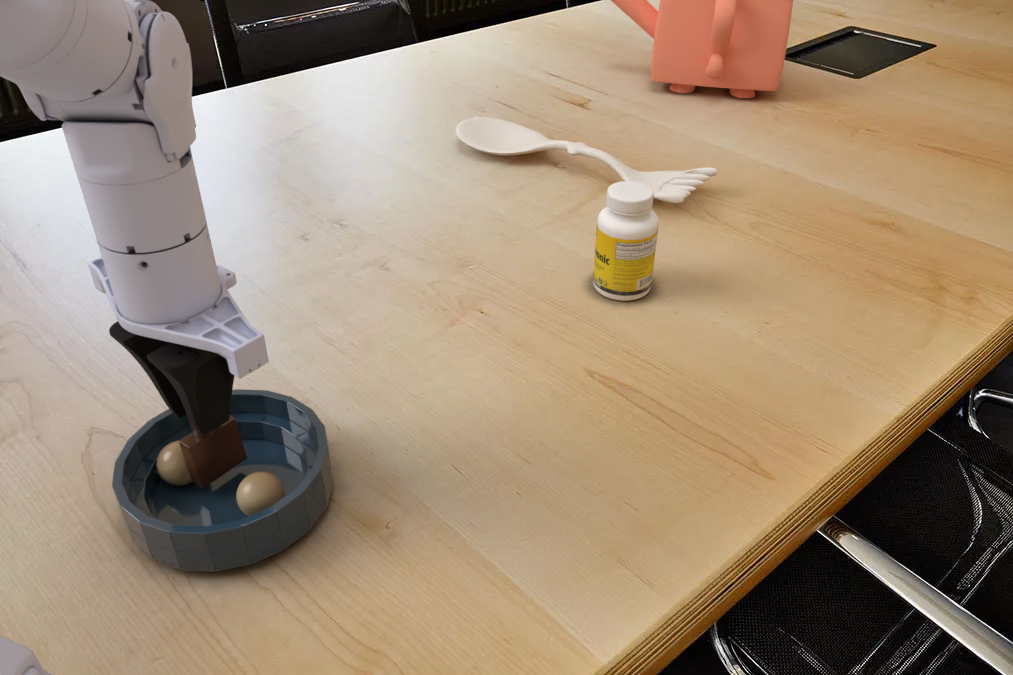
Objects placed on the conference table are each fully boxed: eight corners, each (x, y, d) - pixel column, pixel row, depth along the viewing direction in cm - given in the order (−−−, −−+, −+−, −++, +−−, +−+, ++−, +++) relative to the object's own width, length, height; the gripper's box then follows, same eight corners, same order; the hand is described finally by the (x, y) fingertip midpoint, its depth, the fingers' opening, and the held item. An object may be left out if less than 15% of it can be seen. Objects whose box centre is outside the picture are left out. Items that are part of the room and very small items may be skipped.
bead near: (257, 535, 53) (251, 496, 52) (230, 515, 55) (223, 477, 54) (297, 512, 55) (291, 474, 54) (269, 493, 57) (263, 456, 56)
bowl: (210, 615, 50) (196, 570, 47) (88, 509, 56) (70, 465, 54) (374, 487, 58) (369, 443, 56) (251, 408, 65) (242, 365, 62)
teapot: (593, 98, 119) (602, -39, 109) (612, 50, 137) (622, -72, 127) (778, 114, 115) (806, -27, 104) (773, 62, 133) (796, -63, 122)
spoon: (678, 225, 89) (682, 194, 87) (441, 150, 104) (440, 123, 102) (715, 194, 95) (720, 165, 93) (485, 127, 110) (485, 101, 108)
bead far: (187, 501, 57) (155, 481, 55) (171, 477, 59) (140, 458, 57) (220, 467, 57) (190, 447, 55) (203, 445, 59) (173, 424, 57)
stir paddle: (205, 490, 56) (168, 378, 51) (189, 480, 56) (150, 369, 52) (250, 460, 58) (218, 349, 53) (233, 450, 59) (200, 341, 54)
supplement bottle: (589, 271, 81) (596, 176, 76) (646, 271, 81) (657, 176, 76) (595, 302, 77) (602, 204, 71) (655, 302, 77) (667, 204, 71)
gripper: (296, 242, 46) (325, 432, 54) (142, 169, 53) (188, 345, 61) (182, 297, 41) (233, 496, 49) (31, 209, 49) (96, 394, 56)
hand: (201, 416), depth 55 cm, fingers closed on stir paddle, 2 cm apart
